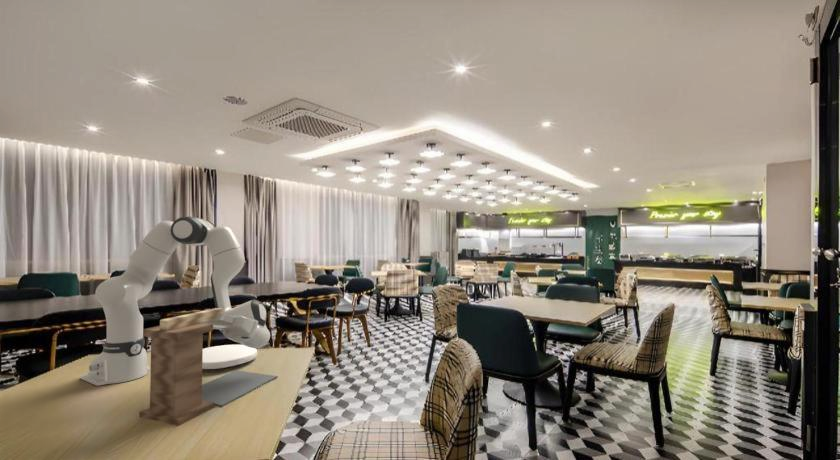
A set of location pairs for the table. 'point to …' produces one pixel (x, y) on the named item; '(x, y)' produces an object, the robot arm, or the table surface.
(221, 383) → the mat
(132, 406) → the table surface
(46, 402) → the table surface
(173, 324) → the rod
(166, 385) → the stand
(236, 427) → the table surface
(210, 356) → the plate
